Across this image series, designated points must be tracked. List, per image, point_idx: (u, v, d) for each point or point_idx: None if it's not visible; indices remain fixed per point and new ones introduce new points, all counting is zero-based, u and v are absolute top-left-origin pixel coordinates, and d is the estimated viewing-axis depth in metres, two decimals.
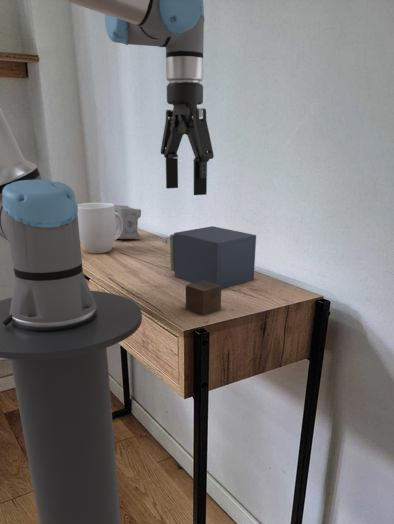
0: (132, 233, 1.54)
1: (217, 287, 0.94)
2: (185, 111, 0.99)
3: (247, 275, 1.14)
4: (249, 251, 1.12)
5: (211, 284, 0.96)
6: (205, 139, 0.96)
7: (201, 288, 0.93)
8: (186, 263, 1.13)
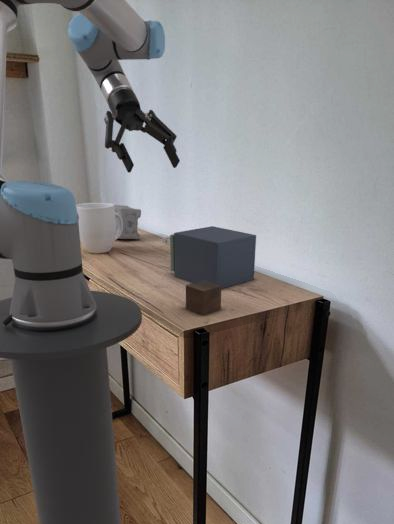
0: (132, 233, 1.54)
1: (217, 287, 0.94)
2: (138, 112, 1.25)
3: (247, 275, 1.14)
4: (249, 251, 1.12)
5: (211, 284, 0.96)
6: None
7: (201, 288, 0.93)
8: (186, 263, 1.13)
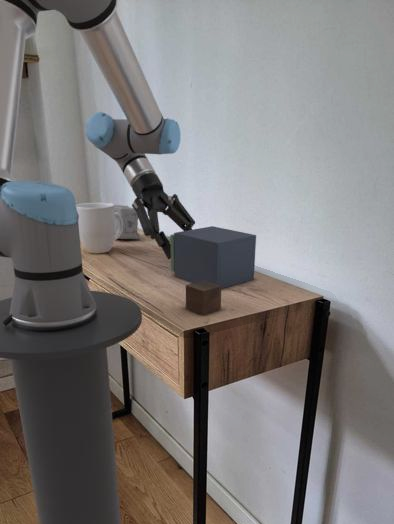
0: (132, 233, 1.54)
1: (217, 287, 0.94)
2: (162, 194, 1.26)
3: (247, 275, 1.14)
4: (249, 251, 1.12)
5: (211, 284, 0.96)
6: None
7: (201, 288, 0.93)
8: (186, 263, 1.13)
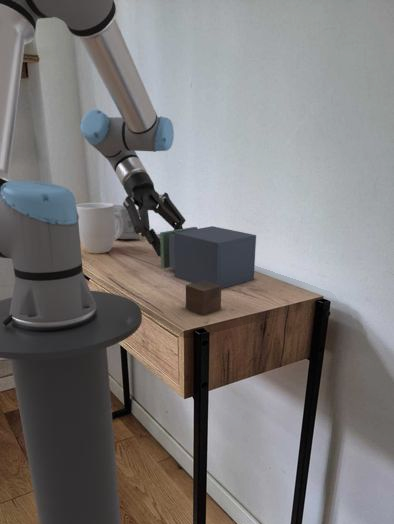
0: (132, 233, 1.54)
1: (217, 287, 0.94)
2: (153, 192, 1.29)
3: (247, 275, 1.14)
4: (249, 251, 1.12)
5: (211, 284, 0.96)
6: None
7: (201, 288, 0.93)
8: (186, 263, 1.13)
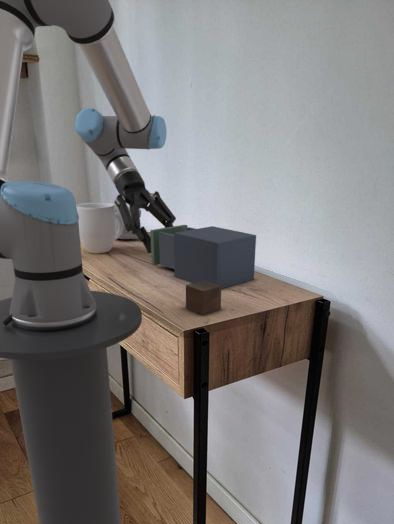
0: None
1: (217, 287, 0.94)
2: (144, 191, 1.31)
3: (247, 275, 1.14)
4: (249, 251, 1.12)
5: (211, 284, 0.96)
6: None
7: (201, 288, 0.93)
8: (186, 263, 1.13)
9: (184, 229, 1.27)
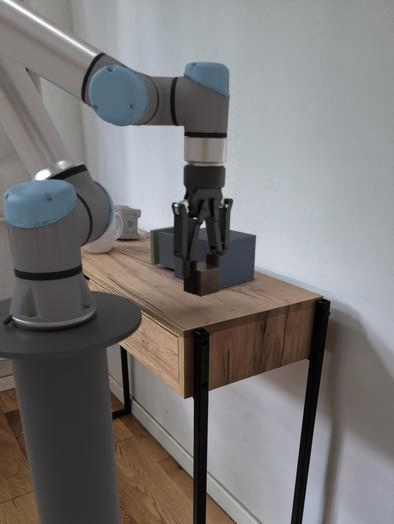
0: (132, 233, 1.54)
1: (215, 268, 0.93)
2: (217, 195, 0.89)
3: (247, 275, 1.14)
4: (249, 251, 1.12)
5: (210, 265, 0.94)
6: None
7: (199, 269, 0.91)
8: None
9: None
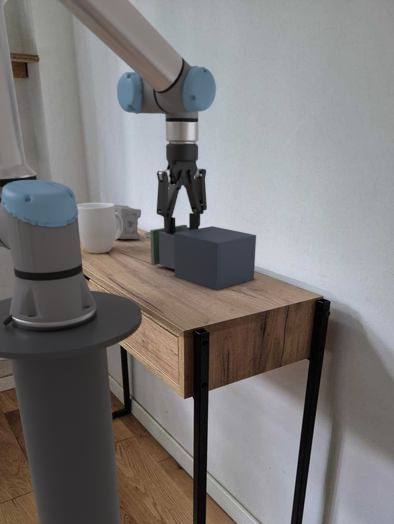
0: (132, 233, 1.54)
1: None
2: (192, 167, 1.15)
3: (247, 275, 1.14)
4: (249, 251, 1.12)
5: None
6: None
7: None
8: (186, 263, 1.13)
9: (184, 229, 1.27)
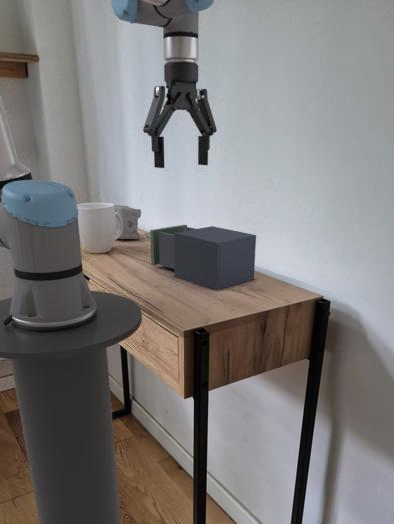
0: (132, 233, 1.54)
1: None
2: (192, 90, 1.08)
3: (247, 275, 1.14)
4: (249, 251, 1.12)
5: None
6: None
7: None
8: (186, 263, 1.13)
9: (184, 229, 1.27)
